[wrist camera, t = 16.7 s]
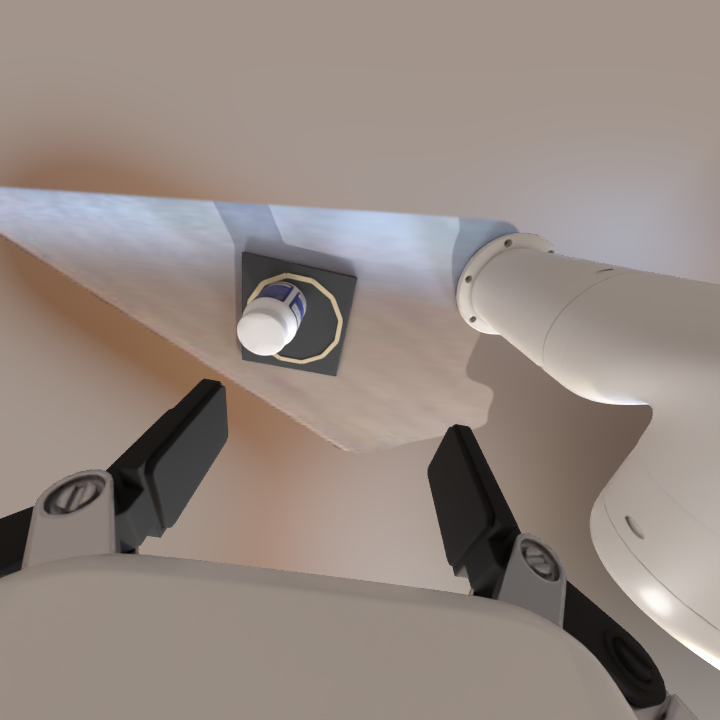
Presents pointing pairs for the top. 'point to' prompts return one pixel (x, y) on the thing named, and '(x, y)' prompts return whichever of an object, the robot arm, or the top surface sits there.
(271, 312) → the pill bottle
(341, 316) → the board
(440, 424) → the top surface
